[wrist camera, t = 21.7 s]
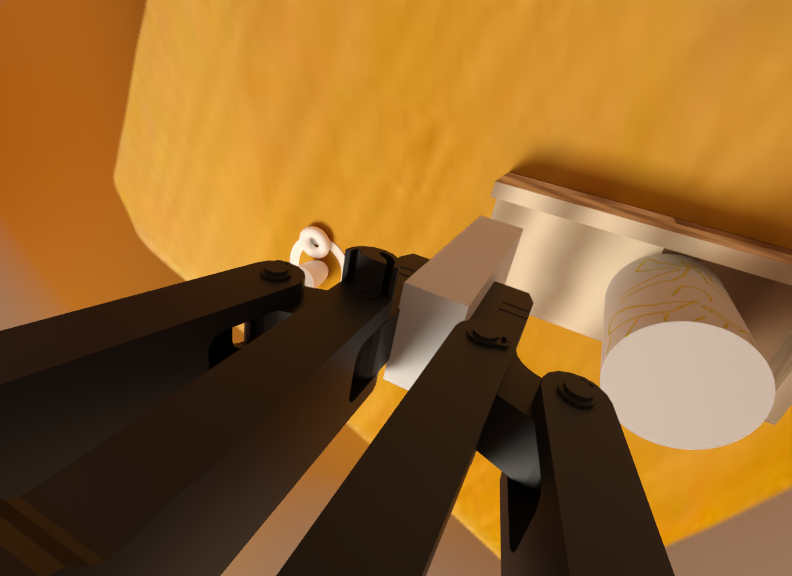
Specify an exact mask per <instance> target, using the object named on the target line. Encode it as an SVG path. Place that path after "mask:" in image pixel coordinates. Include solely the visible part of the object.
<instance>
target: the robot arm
mask: <svg viewBox="0 0 792 576" xmlns="http://www.w3.org/2000/svg"><path fill="white" fill-rule="evenodd" d="M522 232H523V228H520V227H516V226H513V225H510V224H507V223H503V222H500V221H497V220H494V219H491V218H487V217H484V216H480V217H479V218H477V219H476V220H475V221H474V222H473V223H472V224H471V225H469V226H468V227H467V228H466V229H465V230H464V231H462V232H461V233H460V234H459V235H458V236H457V237H456V238H454V239H453V240H452V241H451V242H450V243H449V244H448V245H446V246H445V247H444V248H443V249H442V250H441V251H439V252H438V253H437V254H436V255H435V256H434V257H433V258H431V259H427V258H424V257H421V256H419V255H416V254H409V255H405V256H400V257H399V258H397V257H396V256H395V255H394V254H392V253H390V252H388V251H385V250H382V249H379V248H375V247H367V246H357V247H351V248H348V249H346V251H345V258H344V265H343V272H342V279H341V282H339V283H338V284H336V285H335V286H333V287H332V288H330V289H329V290H322V289H317V288H312V287H308V286H305V273H304V271H303V270H302V269H301V268H299V267H298V266H296V265H293V264H291V263H289V262H286V261H285V262H284V261H281V260H276V261H263V262H257V263H253V264H250V265H246V266H242V267H238V268H235V269H231V270H227V271H223V272H220V273H216V274H212V275H208V276H205V277H201V278H197V279H193V280H190V281H186V282H182V283H178V284H175V285H171V286H168V287H163V288H160V289H156V290H152V291H148V292H145V293H141V294H137V295H133V296H130V297H126V298H122V299H118V300H115V301H111V302H107V303H104V304H100V305H96V306H92V307H89V308H85V309H81V310H77V311H73V312H70V313H66V314H63V315H58V316H54V317H51V318H47V319H43V320H40V321H36V322H32V323H28V324H25V325H21V326H17V327H13V328H9V329H6V330H2V331H0V576H220V575H221V574H222V573H223V572H224V570H225V569H226V568H227V567H228V566H229V564H230V563H231V562H232V561H233V559H234V558H235V557H236V556H237V555H238V554H239V552H240V551H241V550H242V549H243V547H244V546H245V545H246V544H247V543H248V541H249V540H250V539H251V537H252V536H253V535H254V534H255V533H256V532H257V530H258V529H259V528H260V527H261V526H262V524H263V523H264V522H265V521H266V520H267V518H268V517H269V516H270V515H271V513H272V512H273V511H274V510H275V509H276V507H277V506H278V505H279V504H280V503H281V501H282V500H283V499H284V498H285V497H286V495H287V494H288V493H289V491H290V490H291V489H292V488H293V487H294V486H295V484H296V483H297V482H298V481H299V480H300V478H301V477H302V476H303V475H304V473H305V472H306V471H307V470H308V468H309V467H310V466H311V465H312V464H313V462H314V461H315V460H316V459H317V458H318V457H319V455H320V454H321V453H322V452H323V450H324V449H325V448H326V447H327V445H328V444H329V443H330V442H331V441H332V440H333V438H334V437H335V436H336V435H337V433H338V432H339V431H340V430H341V429H342V427H343V426H344V425H345V424H346V423H347V421H348V420H349V419H350V418H351V416H352V415H353V414H354V413H355V412H356V410H357V409H358V408H359V407H360V406H361V404H362V403H363V402H364V401H365V400H366V398H367V397H368V396H369V395H370V393H371V392H372V391H373V389H374V387H375V385H376V381H377V376H378V372H379V370H380V369H381V368H382V367H383V366H384V365H385V363H386V362H387V364H386V368H385V373H384V378H383V379H384V380H387V381H389V382H391V383H393V384H395V385H398V386H400V387H402V388H404V389H406V390H409V391H408V392H407V394H406V395H405V396H404V398H403V399H402V401H401V402H400V403H399V405H398V406H397V408H396V409H395V410H394V412H393V413H392V415H391V416H390V417H389V419H388V420H387V422H386V423H385V424H384V426H383V427H382V429H381V430H380V431H379V433H378V434H377V436H376V437H375V438H374V440H373V441H372V443H371V444H370V445H369V447H368V449H367V450H366V451H365V453H364V454H363V455H362V457H361V458H360V459H359V461H358V462H357V464H356V465H355V466H354V468H353V469H352V471H351V472H350V473H349V475H348V476H347V478H346V479H345V480H344V482H343V483H342V485H341V486H340V487H339V489H338V490H337V492H336V493H335V494H334V496H333V497H332V499H331V500H330V502H329V503H328V504H327V506H326V507H325V508H324V510H323V511H322V513H321V514H320V515H319V517H318V518H317V520H316V521H315V523H314V524H313V525H312V527H311V528H310V529H309V531H308V532H307V534H306V535H305V536H304V538H303V539H302V541H301V542H300V543H299V545H298V546H297V548H296V549H295V550H294V552H293V553H292V554H291V556H290V557H289V559H288V560H287V561H286V563H285V564H284V566H283V567H282V568H281V570H280V571H279V573H278V574H277V575H276V576H426V574H427V572H428V569H429V567H430V564H431V562H432V559H433V556H434V554H435V552H436V549H437V547H438V544H439V542H440V539H441V537H442V534H443V532H444V529H445V527H446V524H447V522H448V519H449V517H450V514H451V512H452V509H453V507H454V505H455V502H456V500H457V497H458V495H459V492H460V490H461V487H462V485H463V482H464V480H465V477H466V475H467V472H468V470H469V467H470V465H471V464H472V461H473V458H474V456H475V453H476V450H477V451H478V452H479V453H480V454H482V455H483V456H484V457H485V458H486V459H488V460H489V461H490V462H491V463H493V464H494V465H495V466H496V467H497V468H499V469H500V470H501V471H502V473H501V477H500V525H501V576H675V575H674V573H673V570H672V567H671V564H670V562H669V559H668V556H667V553H666V550H665V547H664V545H663V542H662V539H661V536H660V534H659V531H658V528H657V525H656V522H655V520H654V517H653V514H652V511H651V509H650V506H649V503H648V500H647V497H646V495H645V492H644V489H643V486H642V484H641V481H640V478H639V475H638V472H637V470H636V467H635V464H634V461H633V459H632V456H631V453H630V450H629V447H628V445H627V442H626V439H625V436H624V433H623V431H622V428H621V425H620V422H619V420H618V417H617V414H616V411H615V408H614V406H613V403H612V402H611V400H610V399H609V397H608V395H607V394H606V393H605V392H604V391H603V390H602V389H600V388H599V387H598V386H597V385H596V384H594V383H593V382H591V381H589V380H588V379H586V378H584V377H582V376H578V375H575V374H573V373H569V372H562V371H555V372H549V373H547V374H546V375H545V376H543V377H542V378H541V377H539V376H538V375H536V374H535V373H533V372H532V371H531V370H529V369H528V368H527V367H526V366H525V365H524V364H523V363H522V362H521V361H520V359H519V358H518V356H517V352H516V348H517V346H518V343H519V341H520V338H521V335H522V333H523V330H524V327H525V325H526V322H527V319H528V317H529V314H530V312H531V309H532V306H533V304H534V303H533V300H532V298H531V296H530V294H529V293H527V292H524V291H522V290H519V289H516V288H513V287H510V286H507V285H505V283H506V280H507V277H508V274H509V271H510V268H511V265H512V262H513V259H514V256H515V253H516V250H517V247H518V244H519V241H520V238H521V235H522ZM242 323H244V341H243V342H240V343H236V344H233V342H232V327H234V326H237V325H240V324H242Z"/></svg>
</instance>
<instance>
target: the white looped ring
mask: <svg viewBox="0 0 792 576" xmlns="http://www.w3.org/2000/svg"><path fill="white" fill-rule="evenodd" d="M313 244H318V245H319V247H315V246H314V245H313ZM303 250H304V251H305V252H306V253H307V254H308V255H309V256H311V257H314V258H323V257H325V256H326V255H327V254H328V252H329V250H331V251H332V252H333V253H334V255H335V256H336V257H337V259H338V261H339V263H340V266H341V271H342V272H343V265H344V258H345V255H344V254H343V252H342V251H341V249H340V248H339V247H338V246H337V245H336V244H335V243H334V242H332V241H331V240H329V238H328V236H327V235H326V233H325V232H324V231H323V230H321V229H320V228H318V227H314V226H310V227H306V228H304V229H303V230H302V231H301V233H300V238H299V240H298V241H297V242H296V243H295V245H294V246H293V248H292V251H291V255H290V263H291V264H293V265H296V266H298V267H299V268H301V269H302V270H303V271H304V273H305V286H308V287H312V288H317V287H318V286H319V285H321V284H322V283H323V282H324V281H325V279H326V278H327V276H328V272H329V271H328V267H327V265H326V264H325V263H324V262H323V261H320V260H312V261H308V262H306V263H303V264H301V265H299V257H300V254H301V252H302V251H303ZM341 279H342V277H341ZM340 282H341V281H340Z"/></svg>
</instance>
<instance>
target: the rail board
mask: <svg viewBox="0 0 792 576" xmlns="http://www.w3.org/2000/svg"><path fill="white" fill-rule="evenodd" d="M491 197H493V198H497V200H496V203H495V207H494V210H493V213H492V217H491V219H494V220H497V221H500V222H503V223H507V224H510V225H513V226H516V227H520V228H523V232H522V235H521V238H520V241H519V244H518V247H517V250H516V253H515V256H514V259H513V262H512V265H511V268H510V271H509V274H508V277H507V280H506V283H505V285H507V286H510V287H513V288H516V289H519V290H522V291H524V292H527V293H529V294H530V296H531V298H532V300H533V303H534V304H533V306H532V309H531V312H530V314H529V315H531V316H534V317H537V318H539V319H542V320H545V321H547V322H550V323H553V324H556V325H558V326H561V327H564V328H566V329H569V330H572V331H575V332H577V333H580V334H583V335H586V336H588V337H591V338H594V339H596V340H599V341H602V336H603V319H604V301H605V294H606V290H607V288H608V285H609V283H610V282H611V280H612V279H613V277H614V276H615V275H616V274H617V273H618V272H619V271H620V270H621V269H622V268H623V267H625V266H626V265H628V264H629V263H631V262H633V261H635V260H637V259H640V258H643V257H646V256H650V255H655V254H677V255H683V256H687V257H690V258H693V259H695V260H697V261H699V262H701V263H703V264H704V265H706V266H707V267H709V268H710V269H711V270H712V271H713V272H714V273H715V274H716V275H717V276H718V278H719V279H720V281H721V282H722V284H723V286H724V288H725V289H726V291H727V293H728V295H729V296H730V298H731V300H732V302H733V303H734V305H735V307H736V309H737V310H738V312H739V314H740V316H741V317H742V319H743V321H744V323H745V324H746V326H747V328H748V330H749V331H750V333H751V335H752V337H753V338H754V340H755V342H756V344H757V345H758V347H759V349H760V351H761V353H762V354H763V356H764V358H765V360H766V361H767V363H768V365H769V367H770V369H771V371H772V374H773V377H774V381H775V399H774V403H773V406H772V409H771V411H770V413H769V415H768V416H767V418H766V419H765V420H764V421H766V422H768V423H771V424H774V425H776V423H777V422H778V421H779V420H780V418H781V417H782V416H783V415H784V413H785V412H786V411H787V409H788V408H789V407H790V406H791V404H792V250H790V249H787V248H783V247H779V246H776V245H772V244H769V243H765V242H761V241H758V240H754V239H750V238H747V237H743V236H739V235H736V234H732V233H728V232H725V231H721V230H718V229H714V228H710V227H707V226H703V225H699V224H696V223H692V222H688V221H685V220H681V219H677V218H674V217H670V216H667V215H663V214H659V213H656V212H652V211H648V210H645V209H641V208H637V207H634V206H630V205H626V204H623V203H619V202H616V201H612V200H608V199H605V198H601V197H597V196H594V195H590V194H586V193H583V192H579V191H575V190H572V189H568V188H565V187H561V186H557V185H554V184H550V183H546V182H543V181H539V180H535V179H532V178H528V177H524V176H521V175H517V174H514V173H510V172H508V173H507V174H505V175H504V176H502V177H501V178H500V179H498V180H497V181H495V184H494V188H493V191H492V194H491Z"/></svg>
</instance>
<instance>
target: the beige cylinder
mask: <svg viewBox="0 0 792 576" xmlns="http://www.w3.org/2000/svg"><path fill="white" fill-rule="evenodd" d="M600 387H601V389H602V390H603V391H604V392H605V393H606V394H607V395H608V397H609V399H610V400H611V402H612V403H613V406H614V408H615V411H616V414H617V417H618V420H619V422H620V423H621V424H622V425H623V426H625V427H626V428H627V429H629V430H630V431H631V432H633V433H635V434H636V435H638V436H640V437H642V438H644V439H646V440H648V441H651V442H653V443H656V444H659V445H663V446H667V447H672V448H678V449H689V450H699V449H710V448H716V447H721V446H724V445H728V444H731V443H733V442H736V441H738V440H740V439H742V438H744V437H746V436H747V435H749V434H750V433H752V432H753V431H754V430H756V429H757V428H758V427H759V426H760V425H761V424H762V423H763V422H764V420H765V419H766V418H767V416H768V415H769V413H770V411H771V409H772V406H773V403H774V399H775V381H774V377H773V374H772V371H771V369H770V367H769V365H768V363H767V361H766V360H765V358H764V356H763V354H762V353H761V351H760V349H759V347H758V345H757V344H756V342H755V340H754V338H753V337H752V335H751V333H750V331H749V330H748V328H747V326H746V324H745V323H744V321H743V319H742V317H741V316H740V314H739V312H738V310H737V309H736V307H735V305H734V303H733V302H732V300H731V298H730V296H729V295H728V293H727V291H726V289H725V288H724V286H723V284H722V282H721V281H720V279H719V278H718V276H717V275H716V274H715V273H714V272H713V271H712V270H711V269H710V268H709V267H707V266H706V265H704V264H703V263H701V262H699V261H697V260H695V259H693V258H690V257H687V256H683V255H677V254H655V255H650V256H646V257H643V258H640V259H637V260H635V261H633V262H631V263H629V264H628V265H626V266H625V267H623V268H622V269H621V270H620V271H619V272H618V273H617V274H616V275H615V276H614V277H613V279H612V280H611V282H610V283H609V285H608V288H607V290H606V294H605V301H604V319H603V336H602V353H601V371H600Z"/></svg>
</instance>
